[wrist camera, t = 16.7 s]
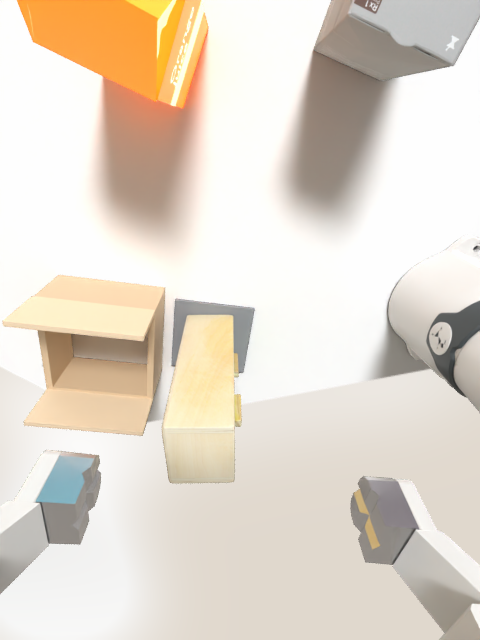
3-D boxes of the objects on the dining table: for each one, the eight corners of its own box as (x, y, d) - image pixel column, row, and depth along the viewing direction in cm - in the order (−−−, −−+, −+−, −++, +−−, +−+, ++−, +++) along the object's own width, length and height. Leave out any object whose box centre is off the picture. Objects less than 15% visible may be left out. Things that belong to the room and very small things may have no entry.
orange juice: (121, -23, 33) (-7, -190, 15) (209, 26, 35) (184, -74, 17) (101, 70, 36) (-22, 20, 19) (183, 110, 38) (139, 99, 21)
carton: (165, 286, 48) (143, 336, 37) (161, 371, 55) (142, 435, 44) (58, 273, 47) (2, 321, 36) (68, 361, 54) (24, 425, 42)
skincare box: (415, 9, 34) (536, -68, 21) (376, 91, 38) (459, 72, 24) (337, -32, 33) (412, -146, 19) (304, 57, 36) (348, 15, 22)
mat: (254, 308, 50) (254, 309, 49) (243, 370, 55) (243, 372, 55) (175, 298, 49) (175, 300, 49) (171, 363, 54) (171, 365, 54)
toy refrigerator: (239, 360, 54) (241, 484, 35) (190, 360, 53) (166, 484, 35) (239, 314, 50) (242, 425, 31) (186, 313, 50) (158, 425, 31)
